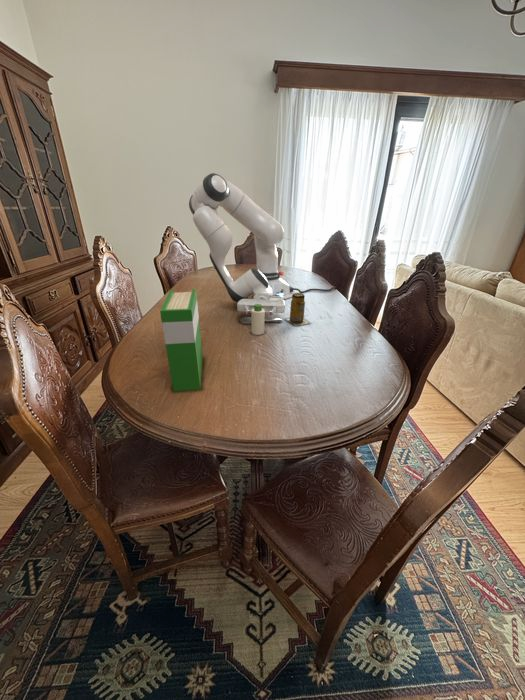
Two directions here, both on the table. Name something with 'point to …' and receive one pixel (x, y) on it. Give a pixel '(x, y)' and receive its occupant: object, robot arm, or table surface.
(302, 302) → the condiment
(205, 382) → the table surface
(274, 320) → the spoon
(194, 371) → the hardback book
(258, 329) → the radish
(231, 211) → the robot arm
